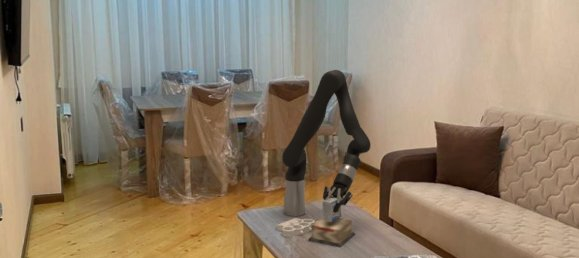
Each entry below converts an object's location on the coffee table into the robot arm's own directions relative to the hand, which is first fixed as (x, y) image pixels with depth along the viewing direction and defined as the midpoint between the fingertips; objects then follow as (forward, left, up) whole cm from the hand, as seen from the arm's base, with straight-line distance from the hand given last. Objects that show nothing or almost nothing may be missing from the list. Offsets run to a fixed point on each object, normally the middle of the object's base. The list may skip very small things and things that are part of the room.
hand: (329, 210), depth 249 cm
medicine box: (0, +2, -4) cm, 5 cm away
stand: (0, +2, -13) cm, 13 cm away
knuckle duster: (-18, +3, -13) cm, 23 cm away
